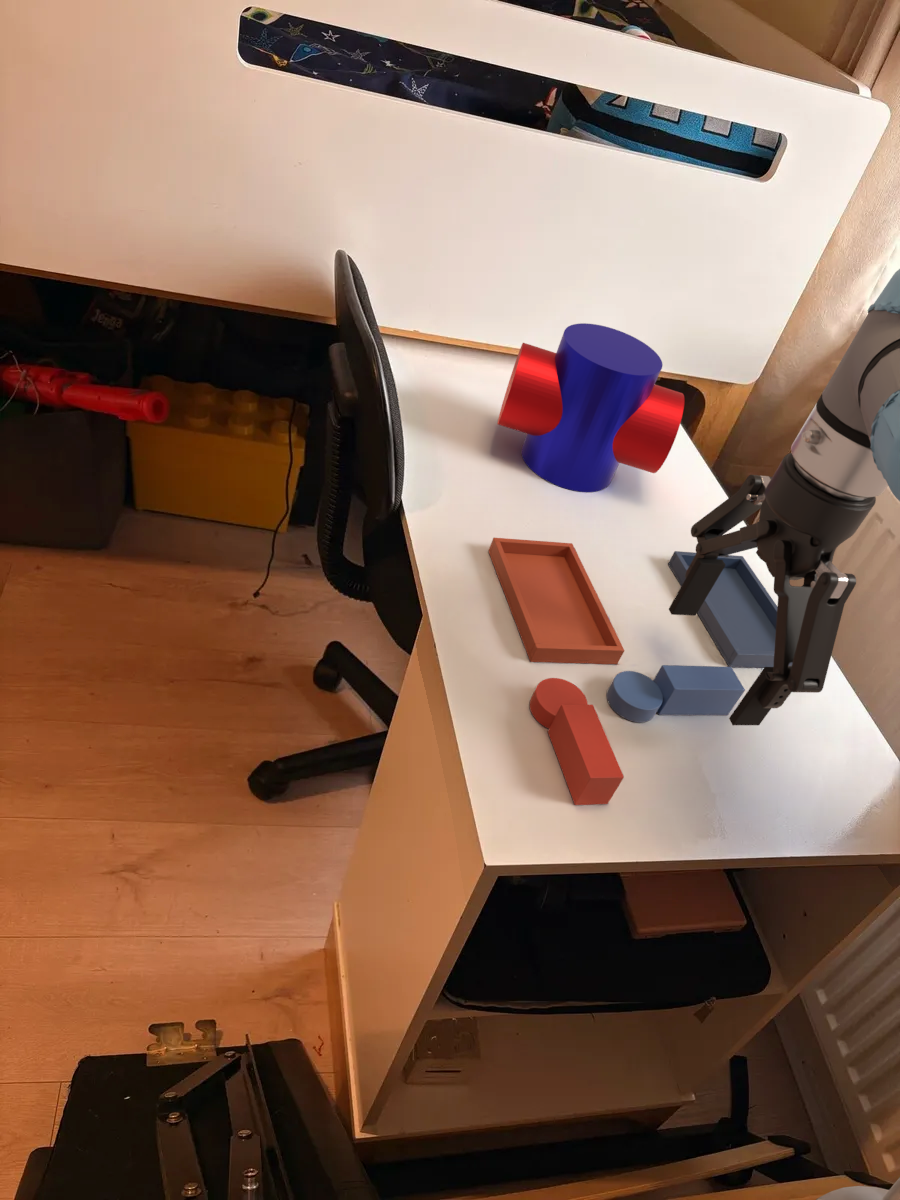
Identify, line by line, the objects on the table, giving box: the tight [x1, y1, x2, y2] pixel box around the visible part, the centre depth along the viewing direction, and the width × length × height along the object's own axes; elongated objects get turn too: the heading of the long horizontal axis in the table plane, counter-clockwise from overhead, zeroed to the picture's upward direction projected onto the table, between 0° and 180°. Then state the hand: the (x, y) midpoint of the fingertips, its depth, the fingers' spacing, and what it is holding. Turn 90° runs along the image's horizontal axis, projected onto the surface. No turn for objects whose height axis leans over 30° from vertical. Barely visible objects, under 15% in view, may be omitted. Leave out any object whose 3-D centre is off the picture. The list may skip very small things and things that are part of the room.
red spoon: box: [529, 677, 624, 806], centre depth 76 cm, size 12×5×4 cm, turn 12°
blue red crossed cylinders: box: [496, 322, 685, 493], centre depth 108 cm, size 20×12×16 cm, turn 81°
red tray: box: [488, 537, 625, 665], centre depth 90 cm, size 16×9×2 cm, turn 12°
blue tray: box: [667, 550, 793, 669], centre depth 97 cm, size 16×9×2 cm, turn 12°
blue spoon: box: [606, 664, 746, 723], centre depth 83 cm, size 12×5×4 cm, turn 102°
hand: (711, 664), depth 82 cm, fingers open, 13 cm apart
